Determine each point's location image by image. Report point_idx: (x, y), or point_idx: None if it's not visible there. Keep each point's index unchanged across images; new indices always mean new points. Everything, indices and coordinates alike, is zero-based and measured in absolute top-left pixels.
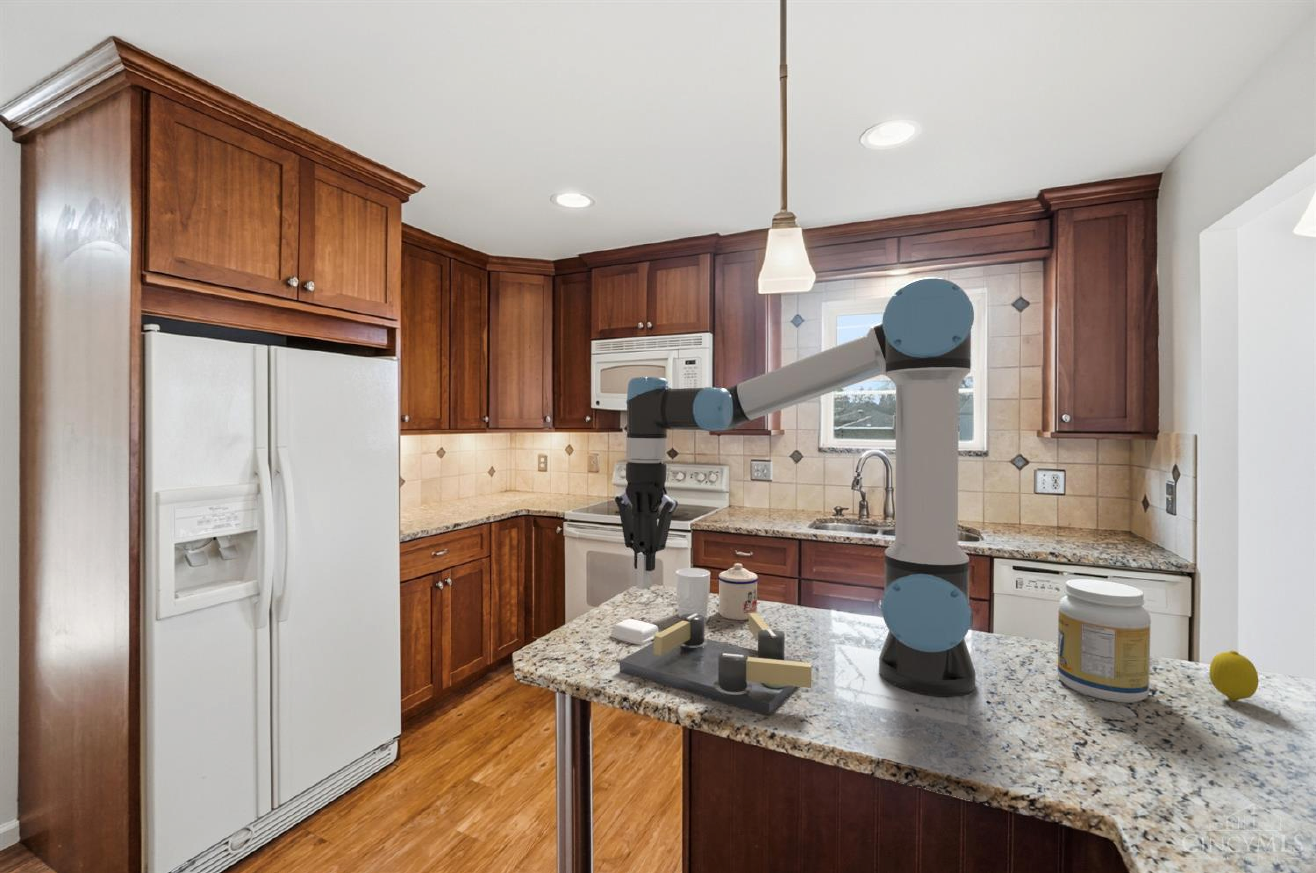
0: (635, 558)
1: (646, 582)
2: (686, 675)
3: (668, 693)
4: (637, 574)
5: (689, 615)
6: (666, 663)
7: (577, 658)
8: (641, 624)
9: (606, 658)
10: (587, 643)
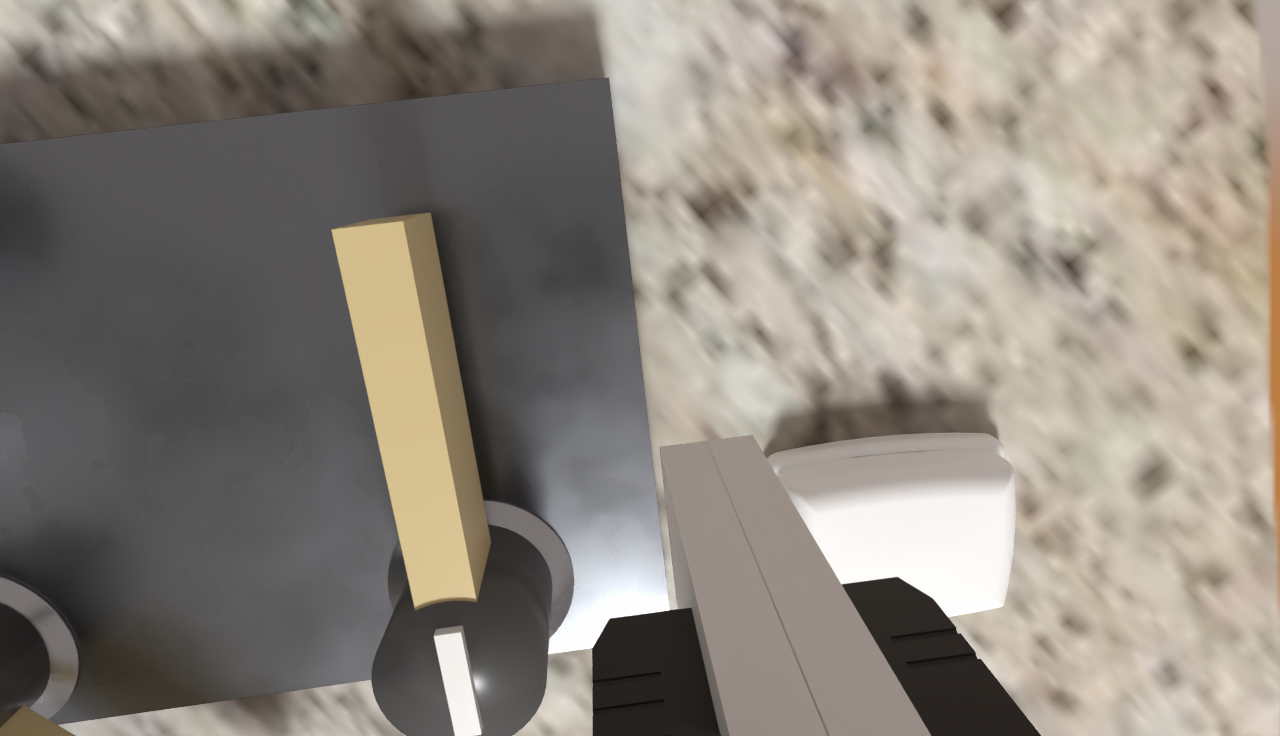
0: (968, 687)
1: (672, 535)
2: (151, 182)
3: (202, 53)
4: (786, 506)
5: (504, 694)
6: None
7: (933, 66)
8: (873, 574)
9: (798, 182)
10: (1032, 270)
